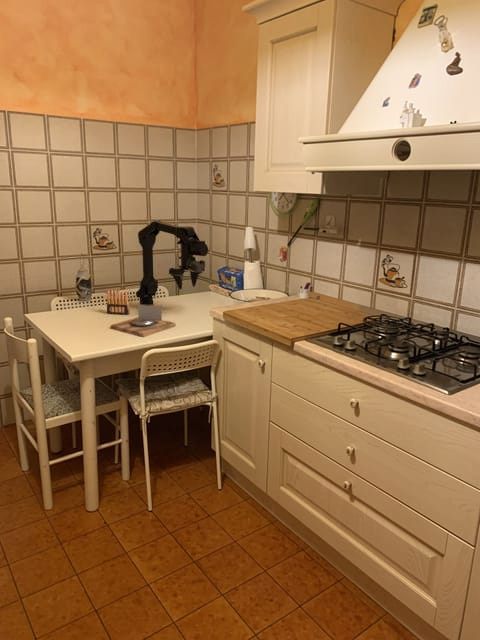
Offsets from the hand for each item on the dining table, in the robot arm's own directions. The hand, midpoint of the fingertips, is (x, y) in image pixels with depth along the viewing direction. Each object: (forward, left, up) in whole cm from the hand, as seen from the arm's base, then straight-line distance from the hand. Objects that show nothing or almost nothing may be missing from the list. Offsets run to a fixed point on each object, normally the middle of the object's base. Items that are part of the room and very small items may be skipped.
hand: (187, 287), depth 230 cm
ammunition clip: (-31, -15, -15) cm, 37 cm away
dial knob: (-5, -22, -13) cm, 26 cm away
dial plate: (-6, -23, -15) cm, 28 cm away
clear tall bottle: (-66, -7, -15) cm, 68 cm away
